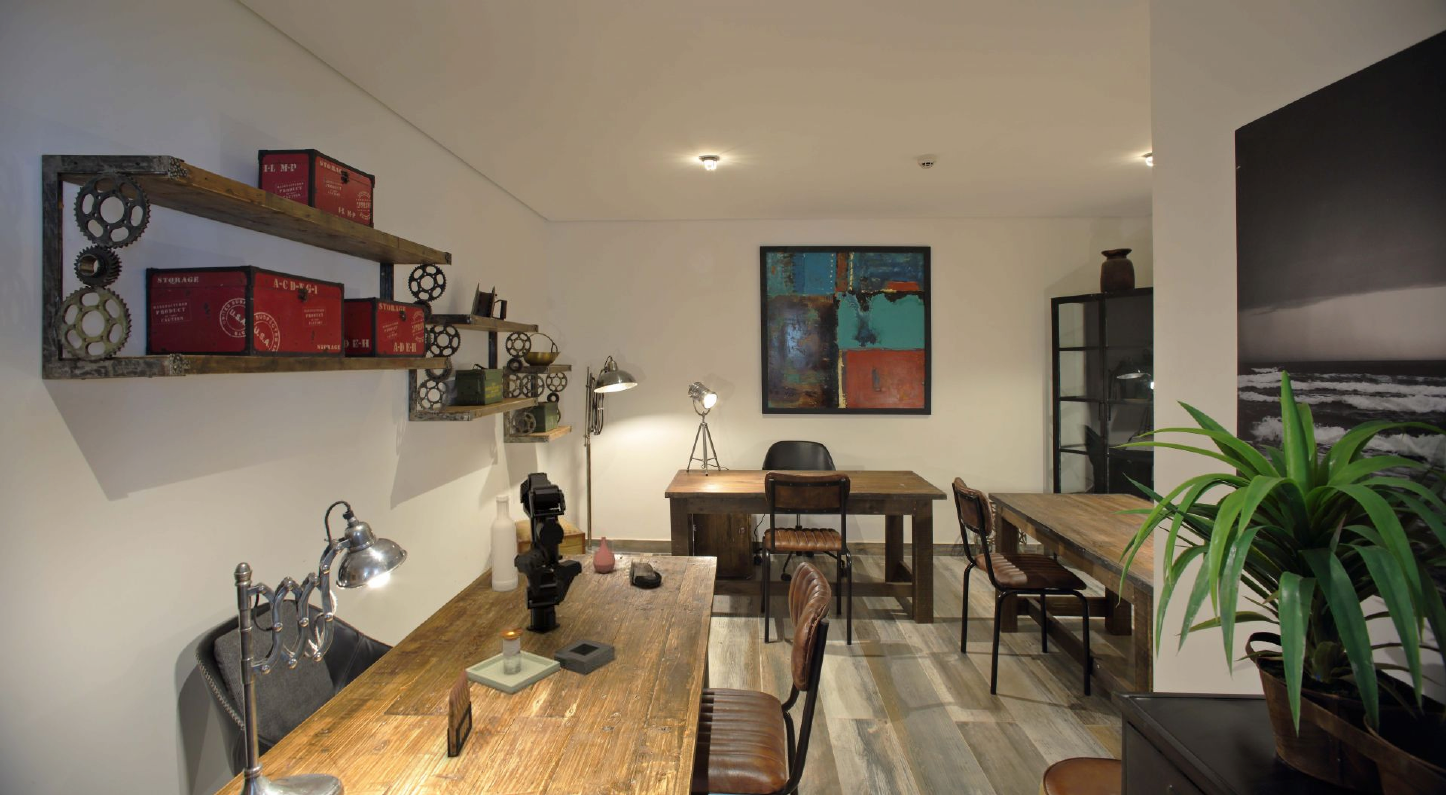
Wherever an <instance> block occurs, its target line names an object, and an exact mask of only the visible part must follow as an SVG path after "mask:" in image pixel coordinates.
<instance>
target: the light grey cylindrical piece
mask: <svg viewBox="0 0 1446 795" xmlns="http://www.w3.org/2000/svg"><path fill="white" fill-rule="evenodd" d="M523 632H524V631H523V627H521V626H519V625H517V626H516V625H513V626H507V627H504V628H501V629H500V631H499V637H500V638H501V639H502V653H503V665H504V674H506V675H514V674H517V673H519V672H520V671H521V651H520V650H521V636H523Z"/></svg>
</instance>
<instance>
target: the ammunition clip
mask: <svg viewBox="0 0 1446 795" xmlns="http://www.w3.org/2000/svg"><path fill="white" fill-rule="evenodd" d="M466 669H467V668H465V667H464V668H463V669H462V672H461V673H460V675H459V676H458V678H457V680H456V682H455V684H454V685H453V686H452V689H450V691H449V698H448V711H447V712H448V713H447V718H448V719H447V721H448V723H447V724H448V727H447V729H446V744H447V745H446V746H447V758H455V757H456V758H457V757H458V758H459V757H460V754H461V752H462V750H463V747H464V745H465V743H466V741H467V738H468V737H469V735H470V733H471V730H472V728H473V713H472V712H473V710H472V708H473V707H472V700H471V694H470V687H469V679H468V675H467V672H466Z"/></svg>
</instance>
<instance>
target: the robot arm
mask: <svg viewBox="0 0 1446 795" xmlns="http://www.w3.org/2000/svg"><path fill="white" fill-rule="evenodd" d="M565 498H566V497H565V494H564V492H563V490H562V489H560V488H559V486H558V484H553V483H552V482H551V481H550V480H549V479H548V473H546V472H541V471H540V472H531V473H527V478H526V479H525V480H524V481H523V482H522V483H520V487H519V503H520V504H522V511H523V513H524V514H525V515H526V517H528V518H529V527H530V528H529V531H530V546H529V549H528V550H527V551H524V552H523V553H519V554H517V556H516V557H515V559H514V567H517V572H518V574H519V573H520V574H521V573H522V574H524V575H525V576H526V579H527V581H528V583H527V586H526V588H525V606H526V609H527V611H528V610H529V612H530V613H529V614H530V625H527V626H526V627H525V629H526V630H529V631H533V632H536V633H539V634H545V633H547V632H549V631H551V630H553V629H555V628H556V629H557V628H558V627H559V626H561V623H559V622H557V612H556V606H560V604H561V603H562V602H564V601H565V598H566V596H567V593H568V591H569V589H570V587H571V585H572V583H573V582H574V579H575V578H576V577H577V576H579V574H580V575H581V574H582V573H583V565H582V563H581V562H580V561H579V560H573V559H567V560H564V555H562V554H560V545H561V544H563V540H564V537H565V530H564V529H563V527H562V525H561V523H560V521H559V517H560V516H565V511H566V510H567V506H566V500H565ZM560 561H561V562H560Z"/></svg>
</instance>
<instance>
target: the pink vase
mask: <svg viewBox="0 0 1446 795" xmlns="http://www.w3.org/2000/svg"><path fill="white" fill-rule="evenodd" d="M600 539H601V541H600V542H601V545H600V546H599V549H597V550H598V551H596V553H595V554H594V556H593V561H592V565H593V568H594V570H595V571H597V572H600V573H601V574H607V573H608V572H609V571H611V570H614V568H615V565H616V558H615V554H614V553H613V552H612V551H611V550H610V549H609V547H608V545H607V537H606V536H601V538H600Z"/></svg>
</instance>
